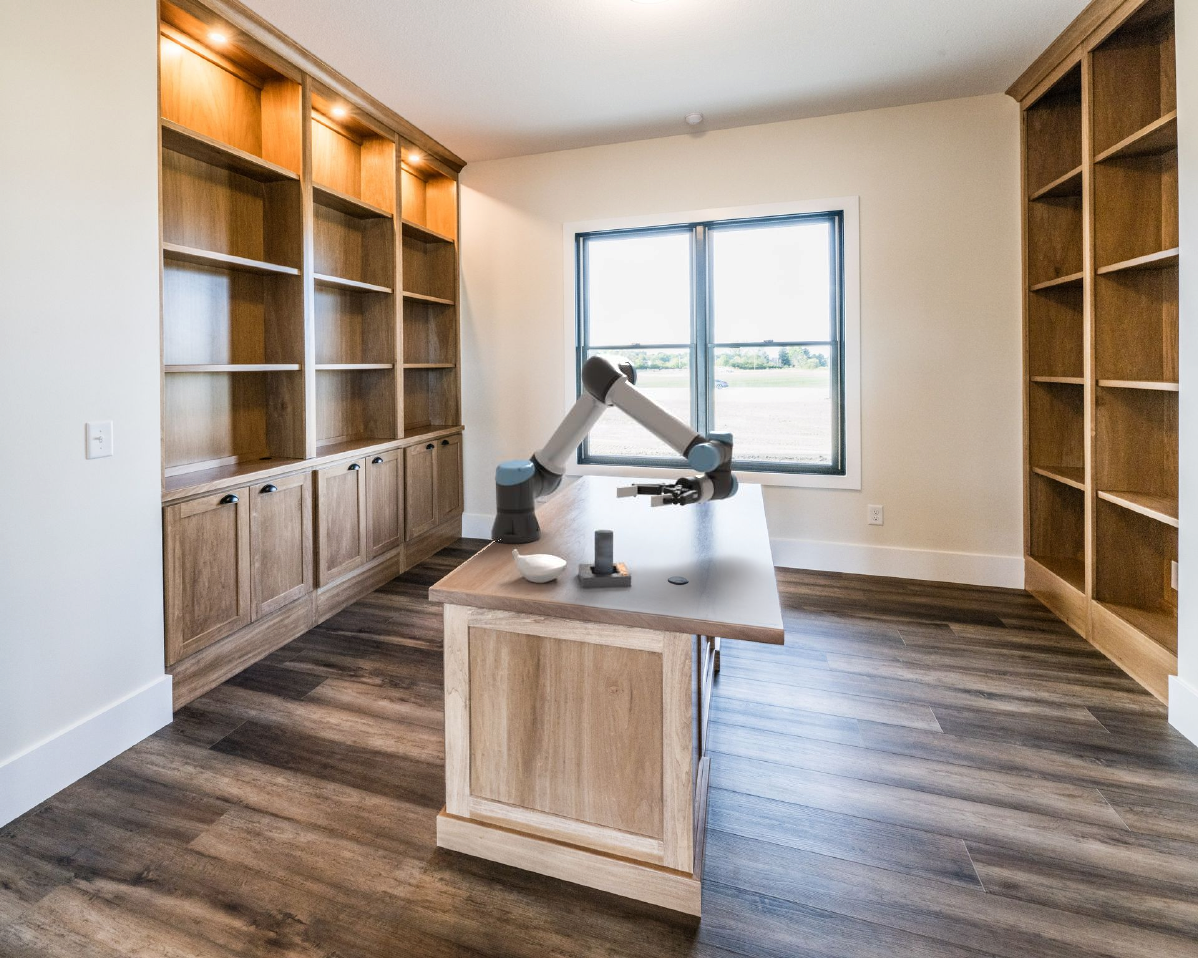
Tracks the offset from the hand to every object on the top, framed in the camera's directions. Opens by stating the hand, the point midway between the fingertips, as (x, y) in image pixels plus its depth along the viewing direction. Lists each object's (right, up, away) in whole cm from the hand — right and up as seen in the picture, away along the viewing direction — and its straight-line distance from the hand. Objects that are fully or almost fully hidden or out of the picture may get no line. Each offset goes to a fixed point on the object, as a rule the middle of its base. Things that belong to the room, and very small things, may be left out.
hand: (634, 497), depth 166 cm
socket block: (-8, -20, -8) cm, 23 cm away
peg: (-8, -20, -8) cm, 23 cm away
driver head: (-23, -20, -9) cm, 32 cm away
